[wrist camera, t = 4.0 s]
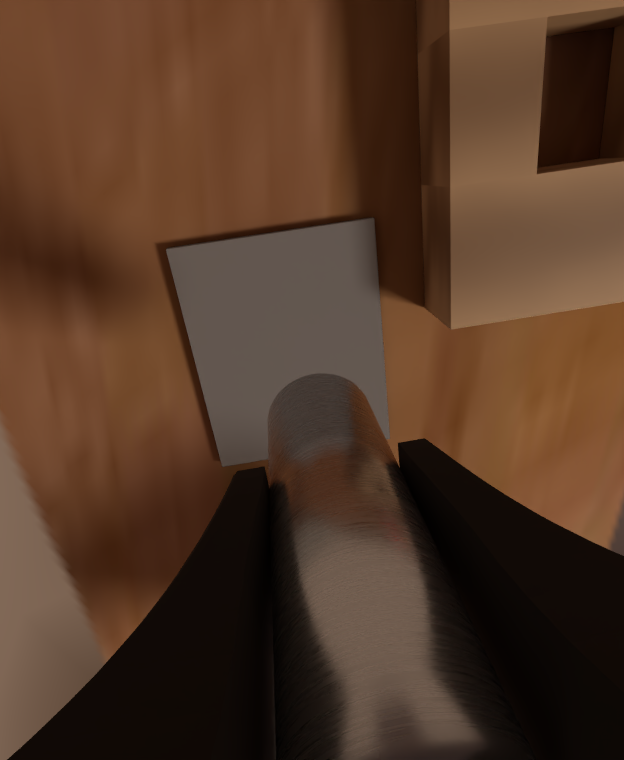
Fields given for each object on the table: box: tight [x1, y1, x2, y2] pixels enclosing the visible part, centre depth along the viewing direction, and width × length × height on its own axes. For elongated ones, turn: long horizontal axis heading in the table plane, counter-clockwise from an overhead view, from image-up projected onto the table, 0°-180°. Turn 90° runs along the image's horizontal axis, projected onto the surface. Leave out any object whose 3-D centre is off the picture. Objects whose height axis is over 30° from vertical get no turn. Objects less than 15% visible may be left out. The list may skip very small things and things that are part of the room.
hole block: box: [416, 0, 624, 329], centre depth 16 cm, size 14×10×3 cm
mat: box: [166, 217, 390, 467], centre depth 20 cm, size 10×8×1 cm
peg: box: [268, 373, 537, 760], centre depth 9 cm, size 3×3×9 cm
